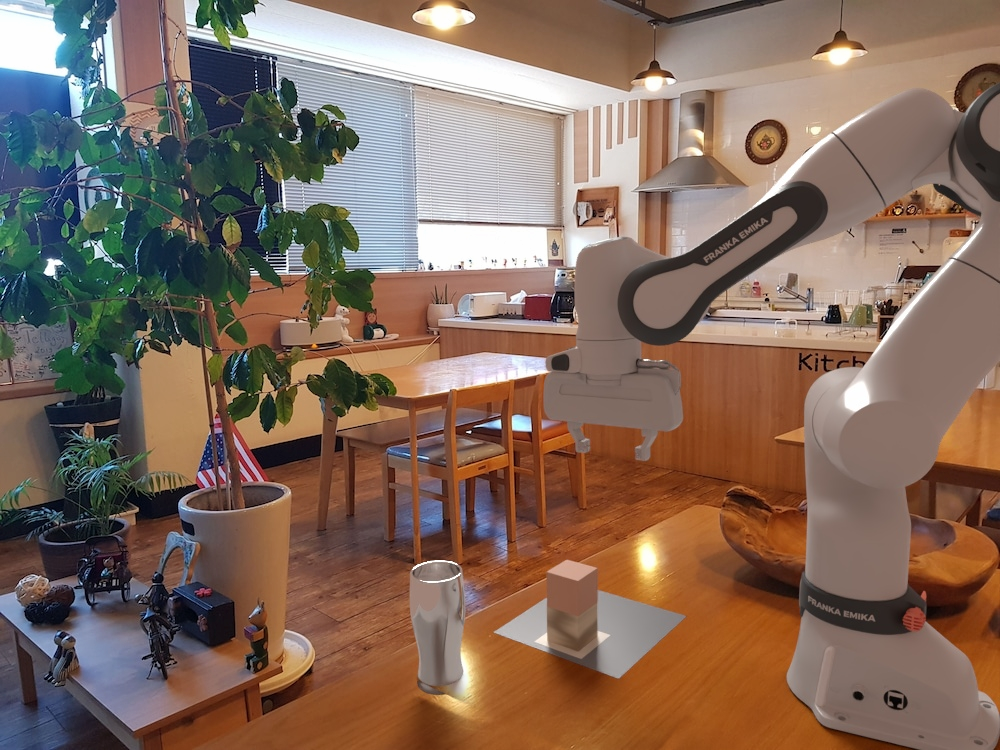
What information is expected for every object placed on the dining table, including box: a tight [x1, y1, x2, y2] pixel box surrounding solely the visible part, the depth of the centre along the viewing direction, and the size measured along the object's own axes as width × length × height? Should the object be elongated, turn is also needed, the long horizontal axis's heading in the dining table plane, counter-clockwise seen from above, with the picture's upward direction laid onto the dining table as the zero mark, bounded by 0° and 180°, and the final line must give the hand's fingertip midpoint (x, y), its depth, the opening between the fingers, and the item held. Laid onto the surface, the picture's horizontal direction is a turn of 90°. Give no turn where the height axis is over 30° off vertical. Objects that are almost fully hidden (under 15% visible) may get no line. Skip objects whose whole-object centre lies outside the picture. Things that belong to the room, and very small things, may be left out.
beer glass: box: [409, 560, 466, 696], centre depth 94 cm, size 7×7×15 cm
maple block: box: [547, 603, 598, 651], centre depth 103 cm, size 5×5×5 cm
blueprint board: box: [493, 589, 687, 680], centre depth 107 cm, size 20×20×1 cm
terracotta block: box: [546, 559, 599, 616], centre depth 102 cm, size 5×5×5 cm
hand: (612, 455), depth 105 cm, fingers open, 8 cm apart
